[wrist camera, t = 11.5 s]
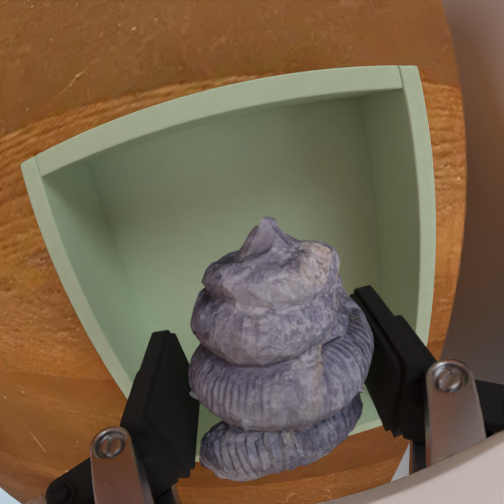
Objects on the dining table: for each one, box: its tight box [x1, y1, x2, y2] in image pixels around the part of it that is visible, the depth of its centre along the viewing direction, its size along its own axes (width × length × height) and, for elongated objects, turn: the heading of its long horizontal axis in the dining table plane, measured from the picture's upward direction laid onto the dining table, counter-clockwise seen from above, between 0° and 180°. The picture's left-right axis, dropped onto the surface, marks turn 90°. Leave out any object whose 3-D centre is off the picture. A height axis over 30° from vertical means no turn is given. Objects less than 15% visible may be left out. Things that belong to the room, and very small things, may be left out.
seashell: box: [188, 217, 374, 482], centre depth 8 cm, size 5×5×10 cm
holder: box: [21, 65, 436, 462], centre depth 13 cm, size 14×17×4 cm
